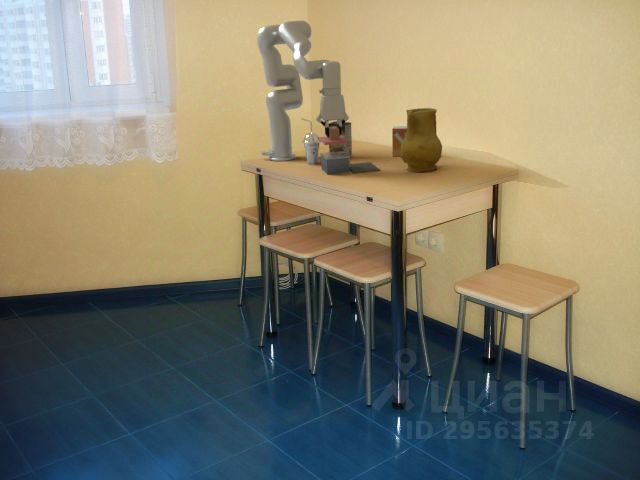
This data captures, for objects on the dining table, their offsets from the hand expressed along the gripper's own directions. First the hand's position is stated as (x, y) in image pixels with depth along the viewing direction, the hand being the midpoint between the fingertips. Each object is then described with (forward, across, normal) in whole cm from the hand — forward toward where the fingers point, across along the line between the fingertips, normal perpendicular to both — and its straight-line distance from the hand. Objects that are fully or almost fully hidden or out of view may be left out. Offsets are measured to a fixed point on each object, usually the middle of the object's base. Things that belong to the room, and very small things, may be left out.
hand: (333, 135), depth 308 cm
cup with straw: (+16, -6, +18) cm, 25 cm away
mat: (+15, +12, -1) cm, 19 cm away
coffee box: (+16, +9, +26) cm, 32 cm away
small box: (+15, +36, +18) cm, 43 cm away
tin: (+15, 0, -1) cm, 15 cm away
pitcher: (+15, +35, -13) cm, 40 cm away
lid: (+2, 0, 0) cm, 2 cm away
